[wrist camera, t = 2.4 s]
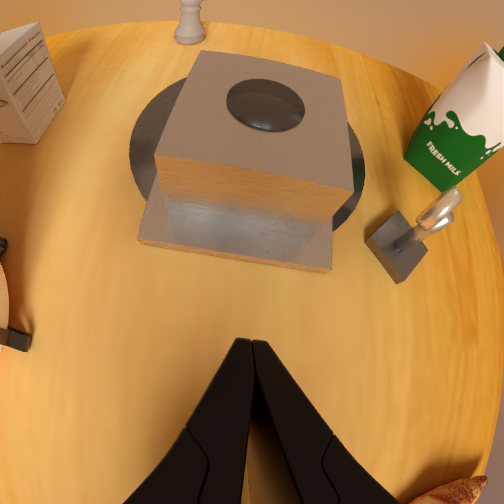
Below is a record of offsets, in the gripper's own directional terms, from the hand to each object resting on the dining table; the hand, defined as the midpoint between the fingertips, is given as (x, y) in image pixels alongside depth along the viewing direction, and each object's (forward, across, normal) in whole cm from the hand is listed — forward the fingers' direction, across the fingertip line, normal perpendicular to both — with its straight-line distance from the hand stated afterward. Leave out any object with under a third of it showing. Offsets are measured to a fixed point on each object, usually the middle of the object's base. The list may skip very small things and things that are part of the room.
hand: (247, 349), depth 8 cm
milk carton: (+26, -23, -7) cm, 35 cm away
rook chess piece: (+36, +11, -17) cm, 42 cm away
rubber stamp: (+17, -15, +2) cm, 22 cm away
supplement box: (+23, +27, -4) cm, 36 cm away
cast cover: (+20, 0, -1) cm, 20 cm away
